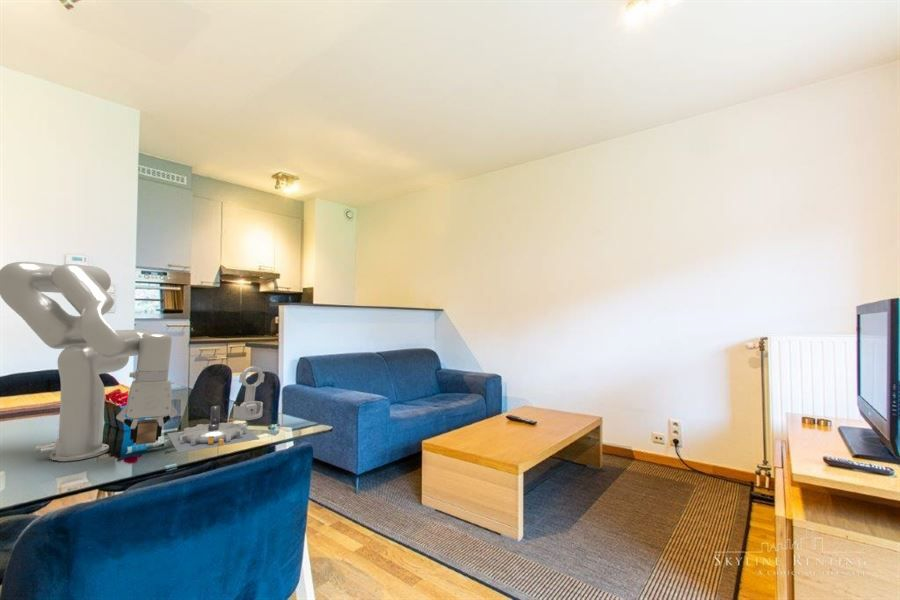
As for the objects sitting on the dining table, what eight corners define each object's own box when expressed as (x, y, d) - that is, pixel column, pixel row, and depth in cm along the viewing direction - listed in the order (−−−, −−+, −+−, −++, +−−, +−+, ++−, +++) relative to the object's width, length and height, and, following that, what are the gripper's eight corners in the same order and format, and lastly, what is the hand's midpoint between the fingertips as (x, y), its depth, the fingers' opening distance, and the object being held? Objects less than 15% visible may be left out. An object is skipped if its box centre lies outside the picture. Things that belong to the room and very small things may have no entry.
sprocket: (167, 436, 131) (168, 411, 131) (227, 424, 147) (228, 401, 147) (195, 449, 120) (197, 421, 121) (257, 434, 136) (258, 409, 136)
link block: (136, 444, 115) (138, 424, 115) (134, 440, 118) (137, 420, 118) (155, 442, 118) (157, 422, 118) (153, 437, 121) (155, 418, 121)
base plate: (177, 458, 118) (178, 447, 118) (166, 438, 135) (167, 428, 135) (259, 443, 132) (260, 433, 132) (240, 427, 150) (240, 418, 150)
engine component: (228, 421, 158) (241, 425, 152) (230, 366, 158) (243, 369, 152) (256, 415, 166) (269, 420, 160) (258, 364, 167) (271, 366, 161)
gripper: (114, 379, 110) (107, 449, 110) (188, 377, 121) (182, 440, 121) (113, 374, 116) (106, 440, 116) (184, 373, 127) (178, 433, 126)
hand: (145, 439), depth 118 cm, fingers closed on link block, 4 cm apart
